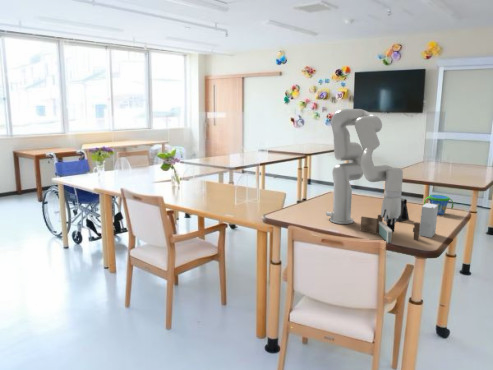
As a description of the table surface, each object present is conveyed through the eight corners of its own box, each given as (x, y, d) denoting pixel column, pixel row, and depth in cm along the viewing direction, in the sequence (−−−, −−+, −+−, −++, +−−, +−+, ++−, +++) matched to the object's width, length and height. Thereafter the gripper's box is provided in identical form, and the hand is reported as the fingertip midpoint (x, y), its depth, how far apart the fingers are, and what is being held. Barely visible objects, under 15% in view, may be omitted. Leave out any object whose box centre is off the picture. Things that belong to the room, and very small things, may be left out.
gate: (378, 233, 203) (378, 221, 202) (381, 233, 203) (382, 221, 202) (387, 242, 189) (388, 230, 188) (391, 242, 189) (392, 230, 188)
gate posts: (360, 230, 209) (360, 213, 207) (362, 229, 212) (363, 211, 210) (417, 240, 193) (419, 221, 192) (419, 238, 196) (420, 220, 195)
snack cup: (452, 212, 243) (453, 195, 241) (453, 217, 234) (454, 199, 232) (423, 210, 249) (424, 193, 248) (423, 214, 240) (424, 197, 238)
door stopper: (398, 222, 224) (399, 200, 222) (389, 219, 229) (390, 198, 227) (409, 219, 229) (410, 198, 227) (399, 217, 234) (401, 196, 232)
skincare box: (423, 231, 207) (425, 202, 204) (436, 233, 204) (438, 204, 201) (418, 235, 200) (421, 205, 198) (432, 238, 197) (434, 207, 194)
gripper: (394, 190, 202) (391, 227, 205) (376, 195, 193) (374, 233, 196) (408, 193, 196) (406, 230, 200) (391, 197, 187) (388, 236, 190)
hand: (390, 231), depth 198 cm, fingers closed
